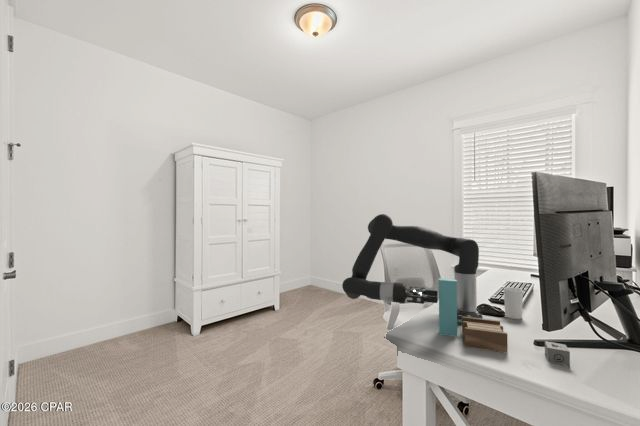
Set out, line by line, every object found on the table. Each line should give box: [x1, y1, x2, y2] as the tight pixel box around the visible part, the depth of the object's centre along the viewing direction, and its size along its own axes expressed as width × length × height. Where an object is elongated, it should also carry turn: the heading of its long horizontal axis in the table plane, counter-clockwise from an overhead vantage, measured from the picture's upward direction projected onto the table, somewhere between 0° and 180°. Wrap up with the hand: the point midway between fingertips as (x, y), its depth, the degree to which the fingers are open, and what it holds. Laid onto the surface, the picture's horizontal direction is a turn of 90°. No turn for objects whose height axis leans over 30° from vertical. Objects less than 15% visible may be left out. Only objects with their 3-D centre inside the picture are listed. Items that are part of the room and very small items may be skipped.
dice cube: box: [544, 340, 571, 370], centre depth 86 cm, size 5×5×5 cm
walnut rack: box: [461, 316, 509, 354], centre depth 98 cm, size 12×12×7 cm
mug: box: [503, 286, 524, 320], centre depth 126 cm, size 10×7×12 cm, turn 170°
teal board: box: [438, 277, 458, 338], centre depth 105 cm, size 3×6×20 cm, turn 68°
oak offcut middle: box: [467, 323, 501, 329], centre depth 97 cm, size 2×10×6 cm, turn 68°
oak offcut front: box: [467, 325, 504, 332], centre depth 95 cm, size 2×10×6 cm, turn 68°
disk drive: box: [457, 310, 484, 327], centre depth 118 cm, size 10×3×15 cm
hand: (437, 296), depth 106 cm, fingers open, 8 cm apart
